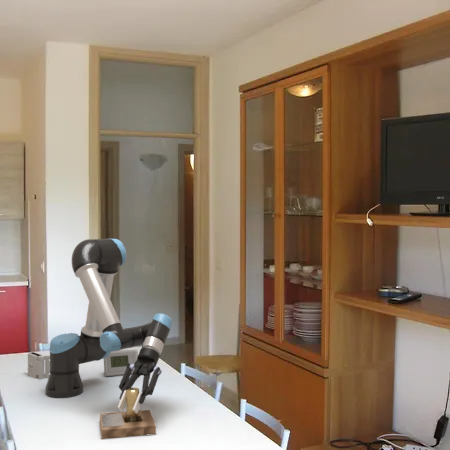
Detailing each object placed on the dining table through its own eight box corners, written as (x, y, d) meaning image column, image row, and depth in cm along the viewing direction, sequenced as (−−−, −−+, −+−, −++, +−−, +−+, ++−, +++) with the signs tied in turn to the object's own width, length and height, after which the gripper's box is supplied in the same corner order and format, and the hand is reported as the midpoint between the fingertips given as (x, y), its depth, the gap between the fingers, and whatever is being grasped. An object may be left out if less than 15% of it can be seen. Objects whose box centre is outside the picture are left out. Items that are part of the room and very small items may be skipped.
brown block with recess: (101, 438, 197) (101, 429, 197) (99, 421, 213) (99, 412, 213) (155, 434, 202) (155, 425, 202) (150, 417, 217) (150, 409, 217)
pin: (126, 426, 205) (127, 391, 205) (125, 421, 209) (126, 387, 209) (139, 425, 206) (139, 391, 206) (138, 420, 210) (138, 387, 210)
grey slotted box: (54, 378, 266) (54, 355, 265) (45, 381, 261) (45, 358, 260) (32, 373, 273) (32, 351, 272) (23, 376, 268) (23, 354, 268)
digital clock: (103, 377, 267) (103, 354, 267) (103, 372, 276) (103, 349, 275) (139, 376, 270) (139, 352, 270) (138, 370, 279) (138, 348, 279)
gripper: (175, 360, 218) (154, 419, 203) (132, 355, 225) (108, 411, 210) (169, 349, 213) (147, 408, 198) (125, 344, 220) (100, 401, 205)
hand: (127, 410), depth 204 cm, fingers open, 5 cm apart
